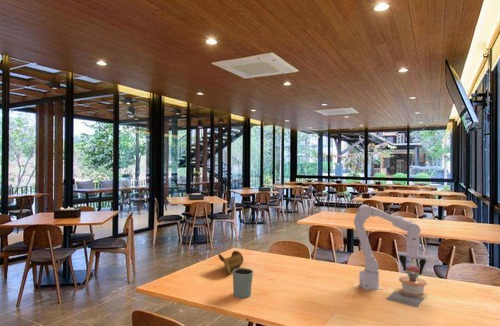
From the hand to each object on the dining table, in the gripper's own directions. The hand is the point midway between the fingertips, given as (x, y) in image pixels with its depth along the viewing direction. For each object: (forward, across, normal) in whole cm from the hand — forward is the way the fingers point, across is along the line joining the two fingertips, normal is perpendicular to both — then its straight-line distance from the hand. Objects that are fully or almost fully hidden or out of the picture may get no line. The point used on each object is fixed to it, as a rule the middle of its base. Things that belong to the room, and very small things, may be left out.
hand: (412, 272), depth 171 cm
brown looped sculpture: (+11, +94, +38) cm, 102 cm away
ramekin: (+10, 0, 0) cm, 10 cm away
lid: (+5, 0, 0) cm, 5 cm away
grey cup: (+10, +63, +63) cm, 90 cm away
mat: (+10, 0, +14) cm, 17 cm away
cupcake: (+10, +6, -24) cm, 27 cm away
